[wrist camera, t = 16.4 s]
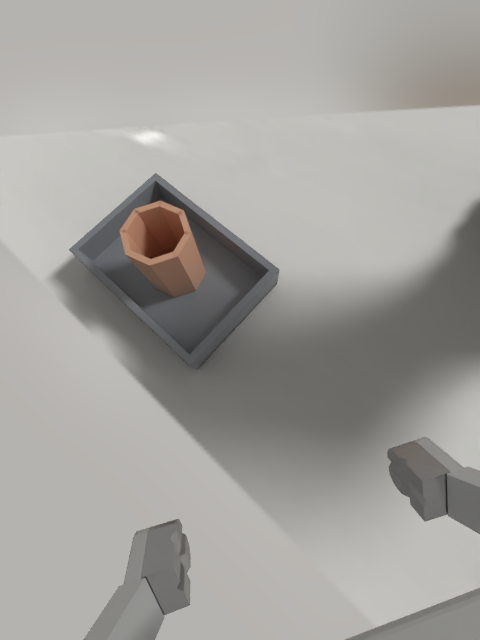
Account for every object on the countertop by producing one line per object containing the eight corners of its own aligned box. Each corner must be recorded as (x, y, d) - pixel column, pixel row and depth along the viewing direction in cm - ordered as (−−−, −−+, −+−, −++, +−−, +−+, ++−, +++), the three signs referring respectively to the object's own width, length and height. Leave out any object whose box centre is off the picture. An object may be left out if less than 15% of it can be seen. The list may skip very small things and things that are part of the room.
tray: (88, 265, 37) (68, 249, 33) (165, 195, 39) (155, 173, 35) (197, 369, 33) (189, 365, 29) (276, 283, 35) (279, 269, 31)
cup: (147, 257, 36) (115, 214, 27) (195, 241, 36) (178, 194, 28) (159, 302, 34) (129, 272, 26) (210, 285, 34) (197, 250, 26)
